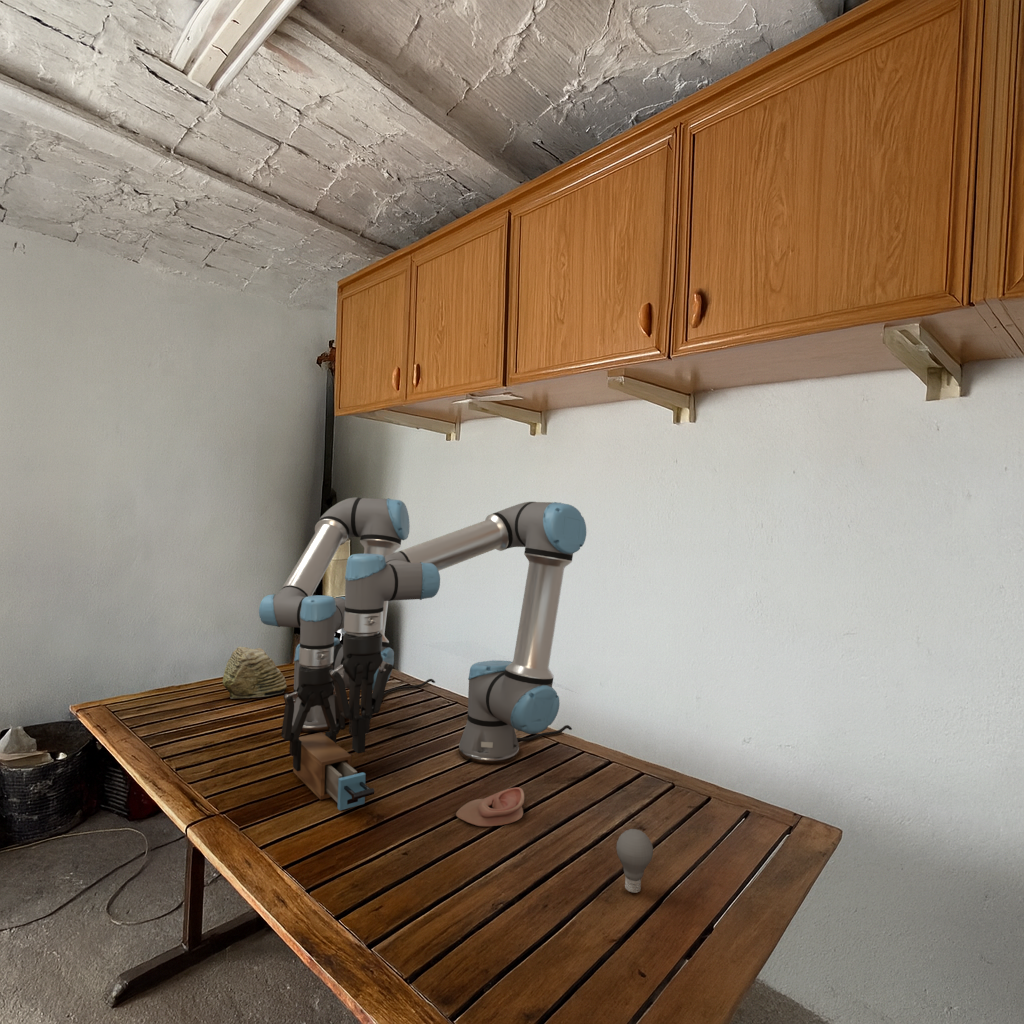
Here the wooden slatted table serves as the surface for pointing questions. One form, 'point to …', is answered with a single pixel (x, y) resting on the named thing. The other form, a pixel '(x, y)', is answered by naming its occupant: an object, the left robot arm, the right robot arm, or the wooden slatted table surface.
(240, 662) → the fossil
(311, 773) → the cabinet
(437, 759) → the wooden slatted table surface
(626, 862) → the light bulb
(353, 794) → the drawer
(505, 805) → the anatomical model
